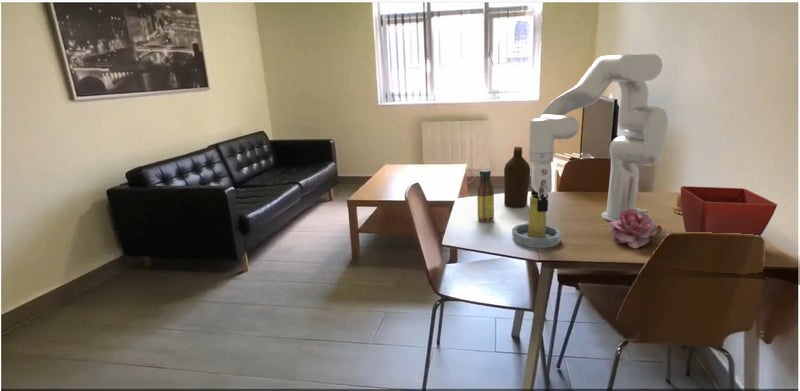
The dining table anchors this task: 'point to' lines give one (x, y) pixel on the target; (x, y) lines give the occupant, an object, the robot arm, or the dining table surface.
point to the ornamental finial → (678, 204)
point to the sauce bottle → (485, 197)
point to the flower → (634, 228)
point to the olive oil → (516, 180)
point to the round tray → (550, 241)
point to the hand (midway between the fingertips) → (539, 206)
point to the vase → (536, 220)
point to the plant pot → (725, 210)
